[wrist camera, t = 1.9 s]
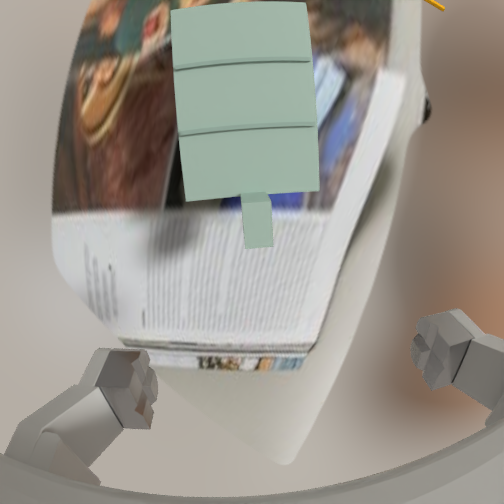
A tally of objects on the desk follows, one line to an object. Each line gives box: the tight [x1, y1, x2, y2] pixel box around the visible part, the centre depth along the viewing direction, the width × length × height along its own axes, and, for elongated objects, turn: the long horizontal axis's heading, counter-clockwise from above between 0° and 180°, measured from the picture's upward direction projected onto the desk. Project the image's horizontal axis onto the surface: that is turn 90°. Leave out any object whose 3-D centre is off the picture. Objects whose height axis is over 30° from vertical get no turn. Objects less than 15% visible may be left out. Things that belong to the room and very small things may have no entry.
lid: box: [171, 2, 319, 249], centre depth 18 cm, size 17×10×4 cm, turn 4°
